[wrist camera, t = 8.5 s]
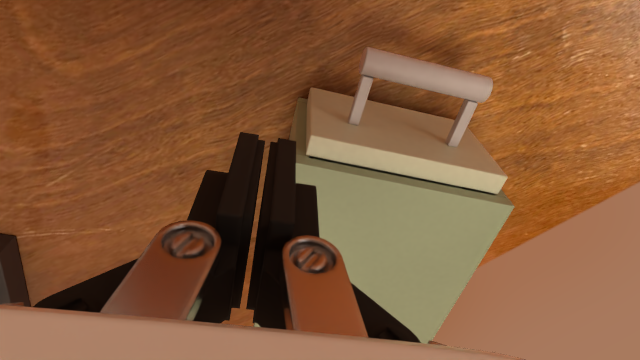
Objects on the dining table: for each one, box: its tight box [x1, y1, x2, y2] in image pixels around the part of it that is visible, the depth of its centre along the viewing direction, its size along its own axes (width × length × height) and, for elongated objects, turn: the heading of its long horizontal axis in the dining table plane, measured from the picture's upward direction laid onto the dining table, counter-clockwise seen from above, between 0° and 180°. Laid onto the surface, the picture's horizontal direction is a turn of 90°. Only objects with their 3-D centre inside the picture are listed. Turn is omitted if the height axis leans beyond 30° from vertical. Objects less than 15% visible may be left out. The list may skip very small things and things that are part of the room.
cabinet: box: [253, 97, 514, 344], centre depth 28 cm, size 14×12×9 cm
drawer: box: [306, 47, 507, 194], centre depth 26 cm, size 17×11×7 cm, turn 166°
